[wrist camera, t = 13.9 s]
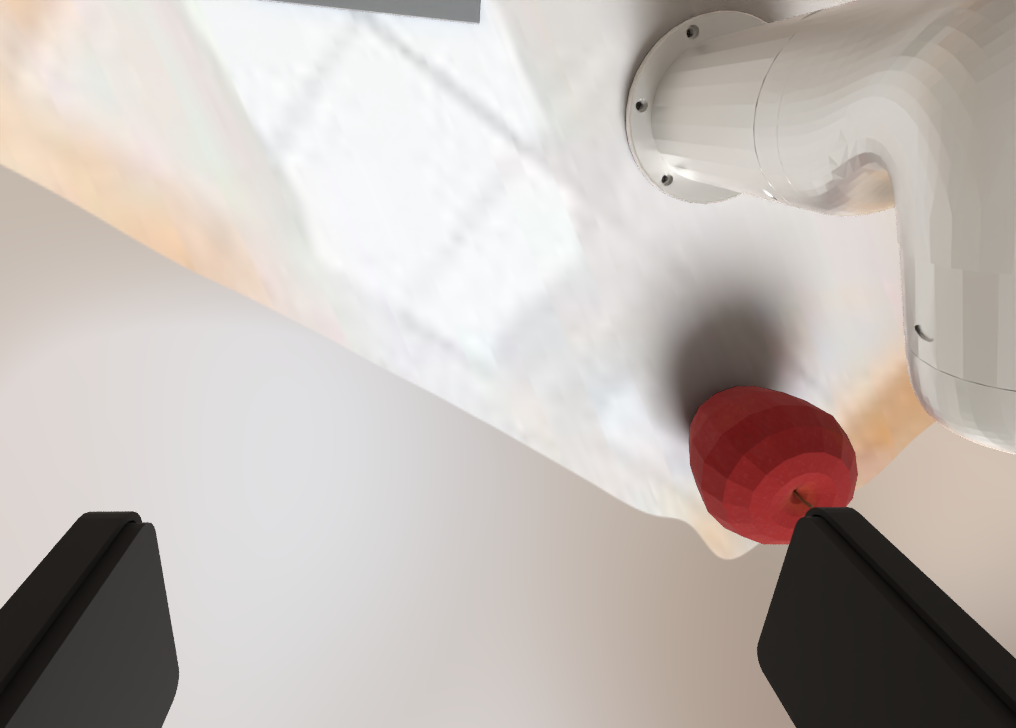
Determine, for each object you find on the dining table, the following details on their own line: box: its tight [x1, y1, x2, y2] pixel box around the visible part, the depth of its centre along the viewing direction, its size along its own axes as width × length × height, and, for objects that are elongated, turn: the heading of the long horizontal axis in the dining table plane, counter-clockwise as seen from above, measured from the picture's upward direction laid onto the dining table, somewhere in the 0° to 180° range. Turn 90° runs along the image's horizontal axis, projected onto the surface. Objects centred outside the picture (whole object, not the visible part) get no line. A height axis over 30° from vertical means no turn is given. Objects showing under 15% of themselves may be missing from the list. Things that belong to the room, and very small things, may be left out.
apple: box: [689, 386, 858, 544], centre depth 48 cm, size 12×12×13 cm
